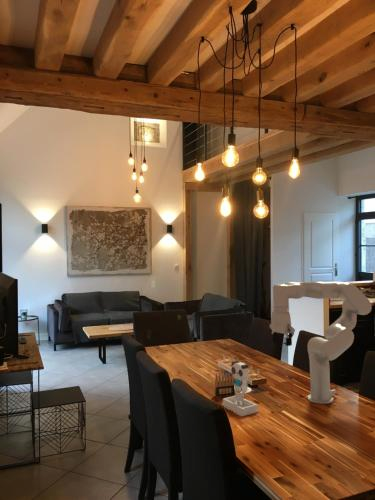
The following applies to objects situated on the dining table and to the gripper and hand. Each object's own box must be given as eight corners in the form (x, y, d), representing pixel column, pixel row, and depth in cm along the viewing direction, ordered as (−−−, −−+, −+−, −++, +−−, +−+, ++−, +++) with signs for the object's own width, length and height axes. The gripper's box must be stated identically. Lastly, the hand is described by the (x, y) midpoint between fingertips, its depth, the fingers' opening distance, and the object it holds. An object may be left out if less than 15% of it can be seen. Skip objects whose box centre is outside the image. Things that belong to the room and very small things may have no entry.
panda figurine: (226, 388, 238) (225, 361, 238) (243, 385, 244) (242, 358, 244) (238, 395, 228) (237, 366, 228) (255, 391, 233) (254, 363, 233)
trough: (238, 401, 218) (238, 395, 218) (258, 411, 204) (258, 404, 204) (222, 405, 213) (221, 398, 213) (241, 416, 199) (241, 409, 199)
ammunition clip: (233, 393, 230) (233, 371, 230) (235, 394, 228) (234, 372, 228) (214, 395, 228) (214, 373, 228) (215, 396, 226) (215, 374, 226)
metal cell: (240, 404, 211) (240, 388, 211) (245, 407, 208) (245, 390, 208) (234, 406, 209) (233, 390, 209) (238, 408, 206) (238, 392, 206)
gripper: (263, 308, 217) (264, 341, 217) (287, 312, 202) (288, 348, 202) (275, 306, 221) (276, 339, 221) (299, 310, 206) (300, 346, 206)
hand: (282, 343), depth 212 cm, fingers open, 9 cm apart
